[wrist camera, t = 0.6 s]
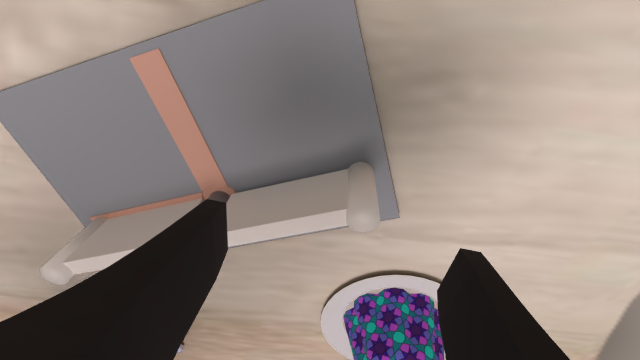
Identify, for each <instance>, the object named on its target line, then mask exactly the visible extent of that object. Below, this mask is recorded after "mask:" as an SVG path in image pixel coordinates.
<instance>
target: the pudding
mask: <svg viewBox="0 0 640 360" xmlns="http://www.w3.org/2000/svg"><path fill="white" fill-rule="evenodd" d="M439 286H440V284H439V283H437V282H434V281H431V280H428V279H425V278H420V277H415V276H408V275H385V276H377V277H372V278H367V279H364V280H361V281H358V282H355V283H353V284H351V285H349V286H347V287H345V288H343V289H342V290H340V291H339V292H338V293H336V294H335V295H334V296H333V297H332V298H331V299H330V300H329V301H328V302H327V304H326V306H325V307H324V309H323V312H322V315H321V329H322V333H323V335H324V337H325V339H326V340H327V342H328V343H329V344H330V345H331V346H332V348H333V349H335V350H336V351H337V352H338V353H340V354H341V355H343V356H345V357H346V358H348V359H350V360H444V357H446V356H445V351H444V346H443V341H442V336H441V331H440V325H439V315H438V310H437V309H434V301H433V300H432V299H431V298H430V297H432V298H433V299H434V300H436V301H437V290H438V288H439ZM386 287H403V288H409V289H414V290H417V291H420V292H423V293H425V294H427V295H429V296H430V297H428V296H426V295H423V294H409V293H407V292H406V291H405V290H404V289H398V288H390V289H384V290H383V291H381V292H380V293H379V294H368V293H367V294H365V295H362V296H359V295H361V294H363V293H366V292H368V291H371V290H374V289H379V288H386ZM358 296H359V297H358ZM356 297H358V298H357V299H356V300H355V301H354V308H352V309H350V310H348V311H346V313H345V314H344V323H345V327H346V331H347V333H346V331H345V329H344V327H343V323H342V317H343V313H344V310H345V309H346V307H347V305H348V304H349V303H350V302H351V301H352V300H354V299H355V298H356ZM437 302H438V301H437Z"/></svg>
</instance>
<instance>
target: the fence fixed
mask: <svg viewBox="0 0 640 360" xmlns="http://www.w3.org/2000/svg"><path fill="white" fill-rule="evenodd" d="M229 198H230V195H229V194H227V193H225V192H223V191H214V192H212V193H211V194H210V196H209V197H208V199H210V200H215V201H220V202H225V203H227V201H228V200H229ZM203 201H204V199H203V198H201V199H197V200H192V201H188V202H183V203H178V204H174V205H169V206H165V207H160V208H155V209H151V210H146V211H142V212H137V213H133V214H128V215H123V216H119V217H114V218H110V219H107V218H105V217H97V218H95V219H94V220H93V221H92V222H91V223H90V224H89V225H88V226H87V227H85V228H84V229H83V230H82V231H81V232H80V233H79V234H78V235H77V236H76V237H74V238H73V239H72V240H71V241H70V242H69V243H68V244H67V245H66V246H64V247H63V248H62V249H61V250H60V251H59V252H58V253H57V254H56V255H55V256H53V257H52V258H51V259H50V260H49V261H48V262H47V263H46V264H45V265H43V266H42V267H41V268H40V274H41V276H42V277H43V278H44V279H45V280H47V281H48V282H50V283H52V284H56V285H64V284H66V283H67V282H68V281H69V280H70V279H71V278H72V277H73V276H74V275H75V274H81V273H86V272H92V271H97V270H103V269H105V268H107V267H108V266H110V265H112V264H113V263H115V262H117V261H118V260H120V259H121V258H123V257H124V256H126V255H127V254H129V253H131V252H132V251H134V250H135V249H137V248H138V247H140V246H142V245H143V244H144V243H146V242H147V241H149V240H150V239H152V238H153V237H155V236H156V235H157V234H159V233H160V232H162V231H163V230H165V229H166V228H168V227H169V226H170V225H172V224H173V223H174V222H176V221H177V220H179V219H180V218H181V217H183V216H184V215H185V214H187V213H188V212H189V211H191V210H192V209H194V208H195V207H196V206H198V205H199V204H200V203H202V202H203Z"/></svg>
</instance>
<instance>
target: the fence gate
mask: <svg viewBox="0 0 640 360" xmlns="http://www.w3.org/2000/svg"><path fill="white" fill-rule="evenodd" d="M226 209H227V234H228V247H231V246H237V245H242V244H248V243H254V242H259V241H265V240H270V239H276V238H281V237H287V236H293V235H298V234H304V233H309V232H315V231H320V230H326V229H332V228H337V227H343V226H349V227H350V228H351V229H352V230H354V231H356V232H360V233H366V232H370V231H372V230H374V229H375V228H376V227H377V226H378V225H379V223H380V214H379V207H378V199H377V192H376V184H375V177H374V170H373V168H372V167H371V166H370V165H369V164H368V163H365V162H356V163H354V164H352V165H351V166H350V167H349V168H348V169H345V170H341V171H336V172H331V173H327V174H322V175H317V176H313V177H308V178H304V179H299V180H294V181H290V182H285V183H281V184H276V185H271V186H267V187H262V188H257V189H253V190H248V191H244V192H239V193H234V194H231V196H230V198H229V200H228V201H227V203H226Z"/></svg>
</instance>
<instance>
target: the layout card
mask: <svg viewBox="0 0 640 360" xmlns="http://www.w3.org/2000/svg"><path fill="white" fill-rule="evenodd" d="M0 122H1V123H2V124H3V126H4V127H5V128H6V129H7V130H8V132H9V133H10V134H11V135H12V137H13V138H14V139H15V140H16V142H17V143H18V144H19V145H20V147H21V148H22V149H23V150H24V152H25V153H26V154H27V155H28V157H29V158H30V159H31V160H32V162H33V163H34V164H35V165H36V166H37V168H38V169H39V170H40V171H41V173H42V174H43V175H44V176H45V178H46V179H47V180H48V181H49V183H50V184H51V185H52V186H53V188H54V189H55V190H56V191H57V193H58V194H59V195H60V196H61V198H62V199H63V200H64V201H65V202H66V204H67V205H68V206H69V207H70V209H71V210H72V211H73V212H74V214H75V215H76V216H77V217H78V219H79V220H80V221H81V222H82V224H83V225H84V226H85V227H87V226H88V225H89V224H90V223H91V222H92V221H93V220H94V219H95V218H97V217H105V218H107V219H110V218H114V217H119V216H123V215H128V214H133V213H137V212H142V211H146V210H151V209H155V208H160V207H165V206H169V205H174V204H178V203H183V202H188V201H192V200H197V199H201V198H203V199H204V201H205V200H206V199H208V197H209V196H210V194H211V193H212V192H214V191H223V192H225V193H227V194H229V195H230V196H231V194H234V193H239V192H244V191H248V190H253V189H257V188H262V187H267V186H271V185H276V184H281V183H285V182H290V181H294V180H299V179H304V178H308V177H313V176H317V175H322V174H327V173H331V172H336V171H341V170H345V169H348V168H349V167H350V166H351V165H352V164H354V163H356V162H365V163H368V164H369V165H370V166H371V167H372V168H373V170H374V177H375V184H376V192H377V199H378V207H379V214H380V221H384V220H390V219H395V218H400V217H399V212H398V208H397V203H396V198H395V193H394V189H393V184H392V179H391V174H390V170H389V165H388V160H387V155H386V151H385V146H384V141H383V136H382V132H381V127H380V122H379V117H378V113H377V108H376V103H375V99H374V94H373V89H372V84H371V80H370V75H369V70H368V65H367V61H366V56H365V51H364V46H363V42H362V37H361V32H360V27H359V23H358V18H357V13H356V8H355V4H354V0H263V1H260V2H257V3H254V4H251V5H249V6H246V7H243V8H240V9H237V10H234V11H231V12H228V13H225V14H223V15H220V16H217V17H214V18H211V19H208V20H205V21H202V22H199V23H197V24H194V25H191V26H188V27H185V28H182V29H179V30H176V31H174V32H171V33H168V34H165V35H162V36H159V37H156V38H153V39H150V40H148V41H145V42H142V43H139V44H136V45H133V46H130V47H127V48H124V49H122V50H119V51H116V52H113V53H110V54H107V55H104V56H101V57H98V58H96V59H93V60H90V61H87V62H84V63H81V64H78V65H75V66H72V67H70V68H67V69H64V70H61V71H58V72H55V73H52V74H49V75H47V76H44V77H41V78H38V79H35V80H32V81H29V82H26V83H23V84H21V85H18V86H15V87H12V88H9V89H6V90H3V91H0ZM345 227H349V226H343V227H337V228H332V229H326V230H320V231H315V232H309V233H304V234H298V235H293V236H287V237H281V238H276V239H270V240H265V241H259V242H254V243H248V244H242V245H237V246H231V247H228V248H233V247H238V246H244V245H250V244H255V243H261V242H266V241H272V240H278V239H283V238H289V237H294V236H300V235H306V234H311V233H317V232H322V231H328V230H334V229H339V228H345Z"/></svg>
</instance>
